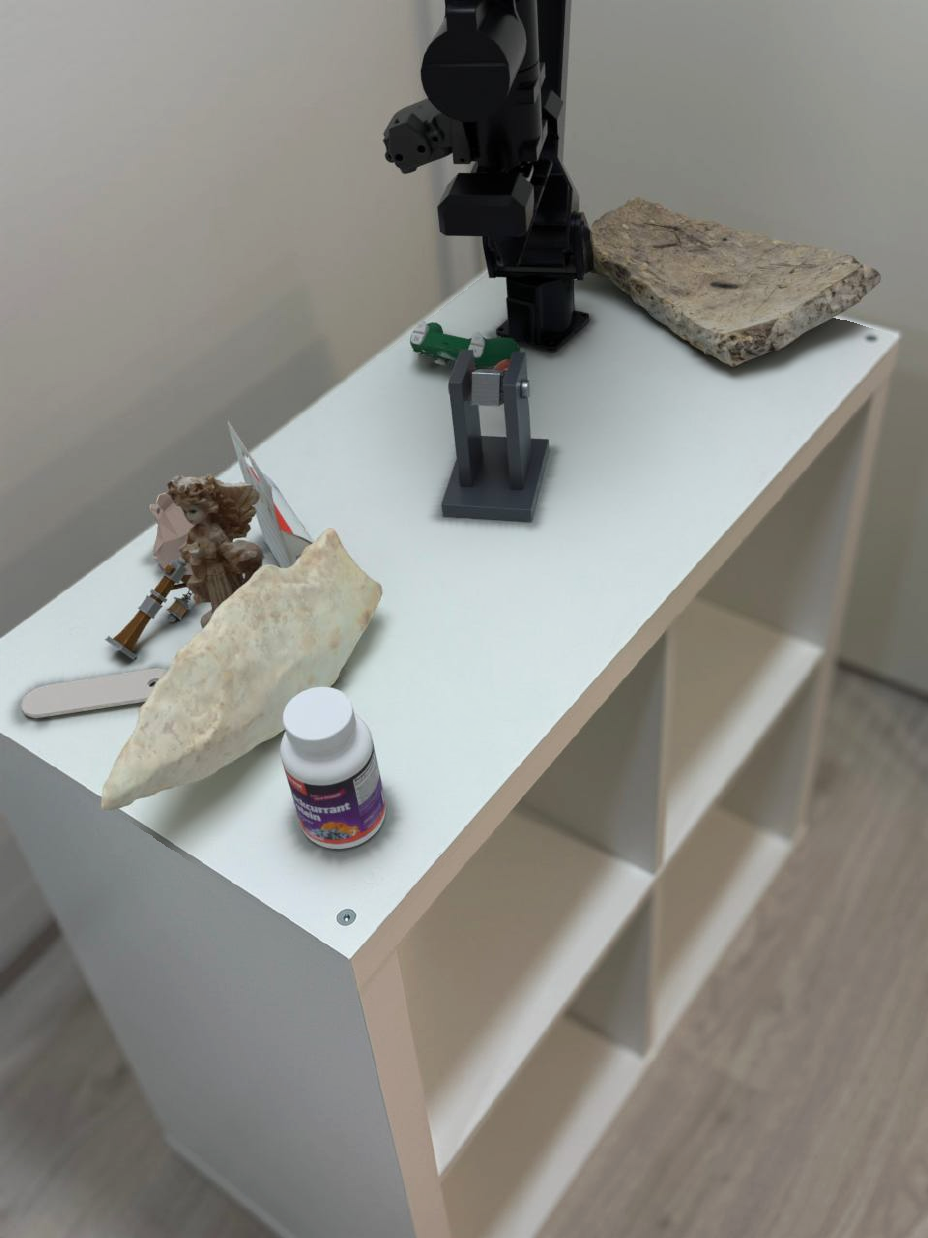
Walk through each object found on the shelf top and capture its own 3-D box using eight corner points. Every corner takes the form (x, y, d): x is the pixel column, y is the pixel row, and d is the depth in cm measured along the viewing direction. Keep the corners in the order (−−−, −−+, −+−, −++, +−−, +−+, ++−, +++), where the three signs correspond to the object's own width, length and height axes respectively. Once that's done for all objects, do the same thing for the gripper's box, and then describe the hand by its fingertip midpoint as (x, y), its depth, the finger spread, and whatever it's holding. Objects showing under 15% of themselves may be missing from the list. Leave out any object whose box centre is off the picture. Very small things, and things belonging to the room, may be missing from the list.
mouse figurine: (221, 600, 92) (199, 530, 88) (141, 567, 96) (117, 498, 91) (264, 558, 95) (246, 488, 91) (186, 527, 99) (165, 459, 94)
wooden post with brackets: (219, 585, 92) (187, 556, 88) (153, 674, 91) (118, 649, 87) (203, 575, 93) (171, 547, 89) (138, 663, 92) (102, 638, 88)
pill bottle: (285, 838, 76) (252, 735, 70) (324, 772, 80) (297, 668, 73) (364, 862, 75) (339, 759, 68) (401, 793, 78) (380, 688, 71)
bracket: (465, 446, 103) (453, 332, 96) (549, 450, 102) (544, 335, 94) (442, 516, 97) (427, 400, 90) (531, 522, 96) (524, 404, 88)
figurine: (178, 669, 87) (119, 501, 77) (219, 611, 91) (167, 444, 81) (273, 690, 85) (224, 520, 75) (310, 630, 89) (269, 461, 78)
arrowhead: (268, 510, 87) (54, 757, 70) (342, 499, 84) (137, 756, 67) (328, 624, 92) (142, 881, 75) (400, 618, 89) (224, 885, 72)
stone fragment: (767, 397, 105) (904, 300, 114) (774, 336, 101) (916, 240, 110) (529, 284, 120) (666, 207, 129) (527, 227, 116) (668, 151, 125)
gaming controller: (423, 364, 116) (394, 349, 110) (434, 324, 115) (405, 307, 110) (512, 384, 112) (487, 369, 107) (524, 342, 112) (499, 326, 106)
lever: (493, 394, 103) (494, 356, 102) (529, 395, 102) (531, 358, 101) (465, 408, 93) (465, 367, 92) (504, 410, 92) (506, 369, 91)
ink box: (291, 526, 97) (262, 404, 89) (336, 597, 91) (309, 472, 83) (256, 539, 97) (224, 417, 89) (299, 611, 90) (268, 486, 82)
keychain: (174, 700, 85) (177, 671, 88) (172, 694, 85) (175, 665, 87) (20, 724, 85) (27, 694, 87) (17, 717, 85) (25, 688, 87)
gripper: (416, 14, 95) (437, 208, 106) (351, 117, 82) (382, 325, 93) (562, 11, 93) (568, 209, 104) (518, 117, 80) (530, 330, 91)
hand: (511, 265), depth 98 cm, fingers closed
